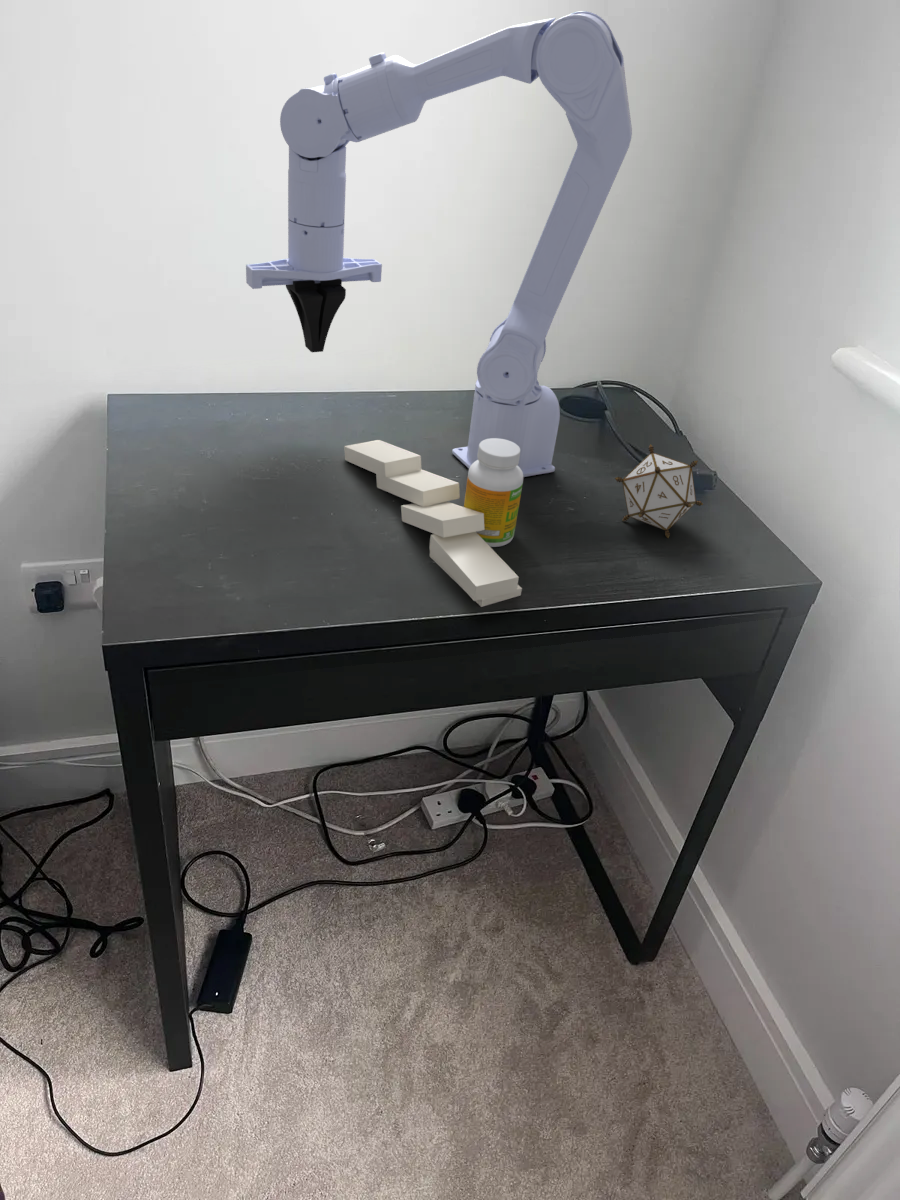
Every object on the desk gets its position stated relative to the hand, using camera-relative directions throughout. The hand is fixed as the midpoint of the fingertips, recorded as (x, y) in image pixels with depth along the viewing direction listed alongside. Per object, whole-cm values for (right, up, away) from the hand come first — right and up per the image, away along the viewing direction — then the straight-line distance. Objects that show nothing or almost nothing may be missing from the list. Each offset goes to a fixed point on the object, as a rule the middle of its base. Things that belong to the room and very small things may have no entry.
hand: (314, 348), depth 102 cm
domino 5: (+15, -23, -13) cm, 30 cm away
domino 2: (+9, -15, -3) cm, 17 cm away
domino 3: (+12, -19, -8) cm, 24 cm away
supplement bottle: (+19, -21, -9) cm, 30 cm away
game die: (+36, -20, -4) cm, 42 cm away
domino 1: (+5, -11, +1) cm, 12 cm away
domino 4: (+15, -22, -14) cm, 30 cm away
